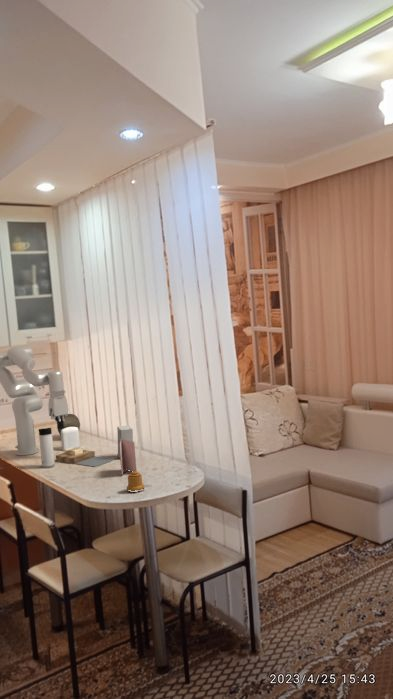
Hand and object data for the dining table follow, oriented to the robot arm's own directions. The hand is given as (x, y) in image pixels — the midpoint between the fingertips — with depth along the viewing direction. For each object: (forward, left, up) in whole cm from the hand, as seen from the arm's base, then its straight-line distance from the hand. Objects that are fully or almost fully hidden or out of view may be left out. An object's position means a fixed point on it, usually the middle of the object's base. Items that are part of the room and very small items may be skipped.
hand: (60, 428), depth 309 cm
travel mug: (+7, -16, -16) cm, 23 cm away
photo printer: (-11, +15, -16) cm, 24 cm away
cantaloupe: (-32, +33, -16) cm, 48 cm away
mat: (+24, 0, -16) cm, 29 cm away
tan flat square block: (+9, 0, -16) cm, 18 cm away
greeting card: (+53, -7, -16) cm, 56 cm away
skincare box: (+33, +13, -16) cm, 39 cm away
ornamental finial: (+74, -26, -16) cm, 80 cm away
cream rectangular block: (+8, 0, -13) cm, 15 cm away
